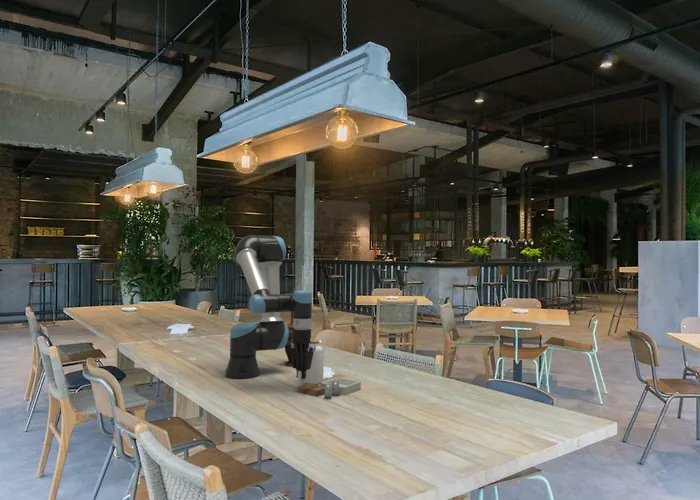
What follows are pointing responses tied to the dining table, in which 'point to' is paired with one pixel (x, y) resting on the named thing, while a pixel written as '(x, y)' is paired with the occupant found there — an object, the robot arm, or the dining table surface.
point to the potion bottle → (316, 365)
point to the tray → (344, 385)
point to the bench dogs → (331, 390)
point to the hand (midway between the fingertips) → (301, 386)
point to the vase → (289, 341)
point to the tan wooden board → (311, 389)
